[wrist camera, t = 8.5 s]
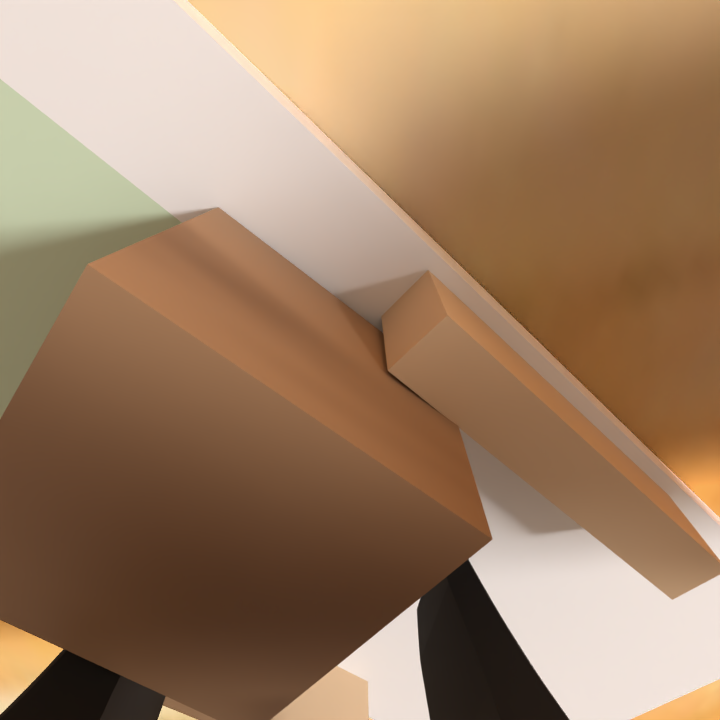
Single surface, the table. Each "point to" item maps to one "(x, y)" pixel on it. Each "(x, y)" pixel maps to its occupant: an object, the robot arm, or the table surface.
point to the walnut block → (222, 476)
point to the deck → (384, 311)
